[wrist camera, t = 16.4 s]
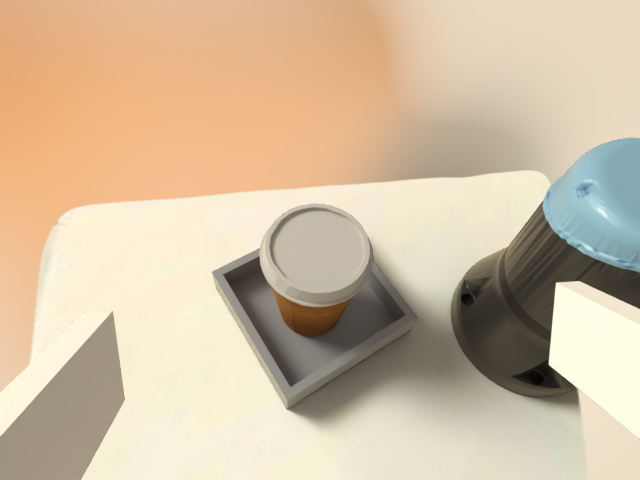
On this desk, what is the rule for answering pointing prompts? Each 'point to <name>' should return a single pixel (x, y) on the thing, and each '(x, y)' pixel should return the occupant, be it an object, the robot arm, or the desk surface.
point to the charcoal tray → (307, 351)
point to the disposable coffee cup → (315, 265)
